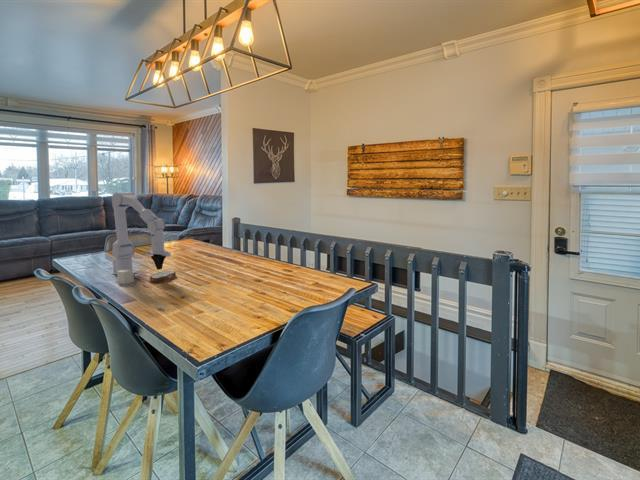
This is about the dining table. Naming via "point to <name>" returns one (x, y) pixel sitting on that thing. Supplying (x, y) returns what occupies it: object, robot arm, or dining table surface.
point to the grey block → (125, 276)
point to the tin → (162, 276)
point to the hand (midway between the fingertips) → (159, 269)
